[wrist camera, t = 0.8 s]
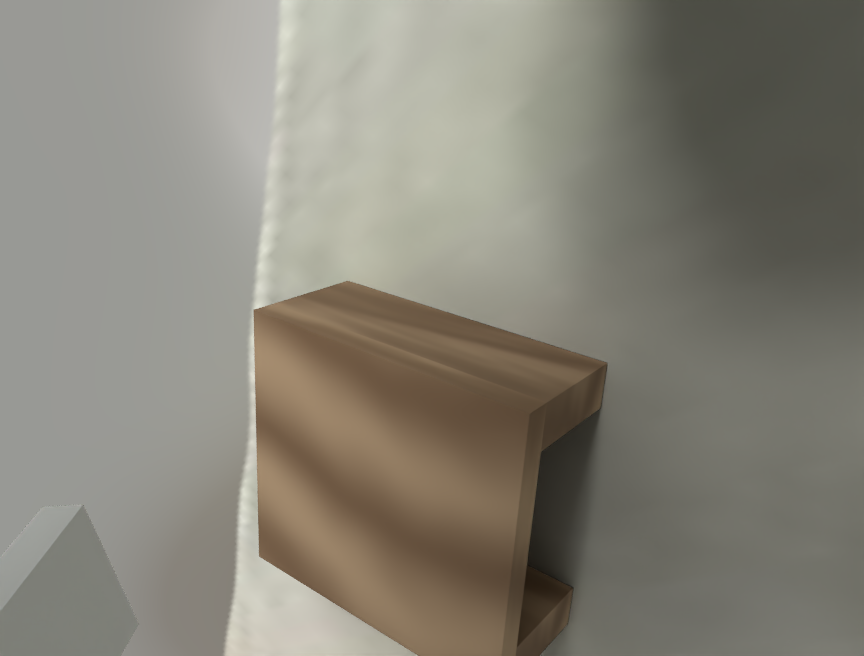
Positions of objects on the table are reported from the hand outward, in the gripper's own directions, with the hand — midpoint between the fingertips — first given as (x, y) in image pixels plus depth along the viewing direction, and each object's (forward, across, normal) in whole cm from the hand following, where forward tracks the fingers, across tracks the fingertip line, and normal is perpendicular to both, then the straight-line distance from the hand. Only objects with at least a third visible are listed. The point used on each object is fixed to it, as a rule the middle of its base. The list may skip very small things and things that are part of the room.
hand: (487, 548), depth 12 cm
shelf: (+22, -5, -13) cm, 26 cm away
